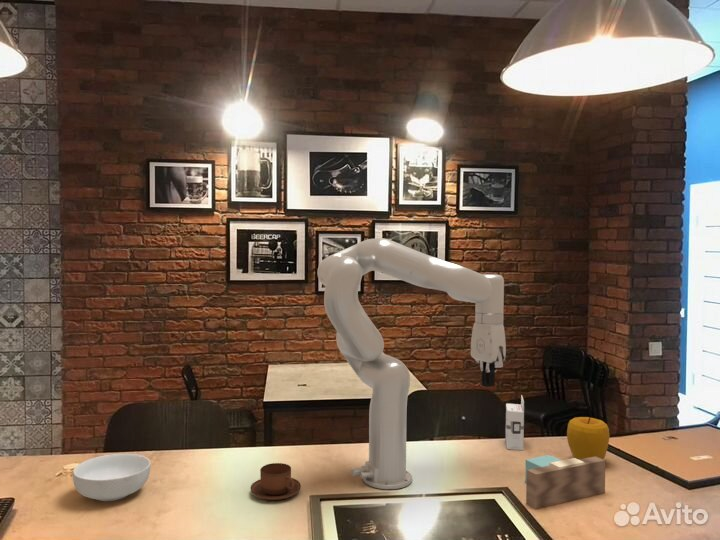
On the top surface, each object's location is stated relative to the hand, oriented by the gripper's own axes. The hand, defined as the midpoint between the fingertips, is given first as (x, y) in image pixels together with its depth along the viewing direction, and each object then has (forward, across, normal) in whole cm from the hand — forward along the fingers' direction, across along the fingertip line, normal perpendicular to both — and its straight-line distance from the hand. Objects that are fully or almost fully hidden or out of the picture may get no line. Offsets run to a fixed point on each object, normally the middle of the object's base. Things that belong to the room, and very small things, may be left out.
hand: (488, 385), depth 155 cm
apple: (+22, +10, +27) cm, 36 cm away
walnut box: (+22, +25, +4) cm, 34 cm away
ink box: (+22, -10, +18) cm, 30 cm away
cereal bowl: (+22, -21, -94) cm, 99 cm away
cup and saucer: (+23, -6, -58) cm, 63 cm away
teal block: (+22, +18, +6) cm, 29 cm away
